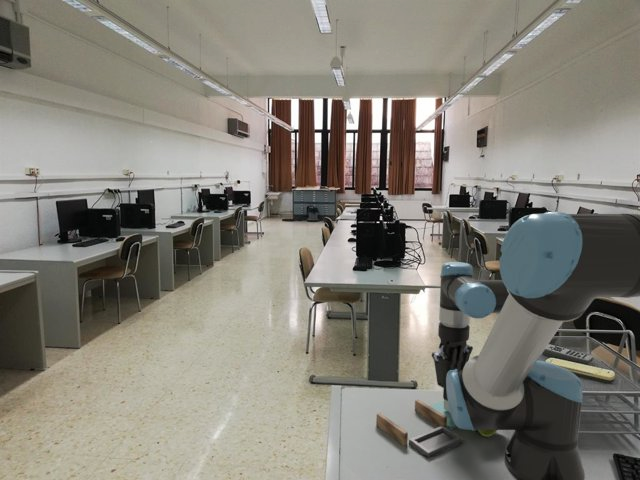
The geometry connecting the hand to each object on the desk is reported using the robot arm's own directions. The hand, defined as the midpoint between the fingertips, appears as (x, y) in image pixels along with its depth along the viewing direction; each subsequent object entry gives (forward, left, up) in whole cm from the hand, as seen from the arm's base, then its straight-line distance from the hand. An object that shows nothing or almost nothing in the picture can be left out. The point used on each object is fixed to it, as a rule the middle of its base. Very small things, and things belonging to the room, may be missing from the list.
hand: (449, 410), depth 112 cm
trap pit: (-7, +13, -1) cm, 14 cm away
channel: (+1, +13, -1) cm, 13 cm away
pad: (0, 0, -1) cm, 1 cm away
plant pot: (-3, -1, +2) cm, 4 cm away
